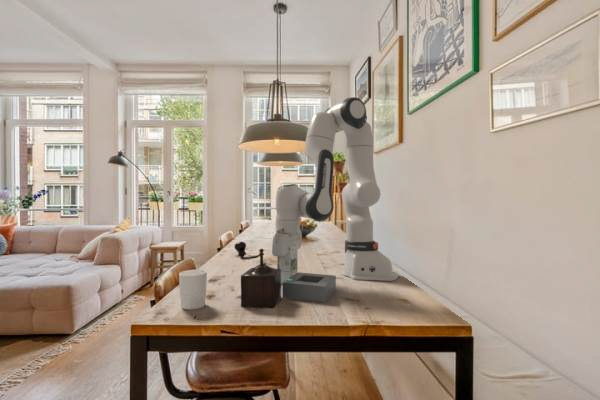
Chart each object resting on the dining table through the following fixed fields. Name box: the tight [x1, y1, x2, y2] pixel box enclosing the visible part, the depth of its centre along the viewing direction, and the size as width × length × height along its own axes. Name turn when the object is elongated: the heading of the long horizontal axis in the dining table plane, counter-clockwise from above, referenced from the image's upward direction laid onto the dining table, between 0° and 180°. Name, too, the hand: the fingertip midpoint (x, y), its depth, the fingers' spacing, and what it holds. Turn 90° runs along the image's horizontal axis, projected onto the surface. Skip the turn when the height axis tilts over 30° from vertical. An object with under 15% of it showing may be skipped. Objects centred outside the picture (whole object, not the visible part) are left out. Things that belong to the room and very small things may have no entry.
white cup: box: [178, 268, 208, 311], centre depth 93 cm, size 8×8×10 cm
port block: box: [282, 271, 337, 304], centre depth 104 cm, size 14×14×6 cm
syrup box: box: [276, 244, 299, 286], centre depth 117 cm, size 6×6×14 cm
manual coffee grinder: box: [234, 241, 282, 309], centre depth 97 cm, size 16×11×18 cm
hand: (287, 264), depth 117 cm, fingers closed on syrup box, 6 cm apart
